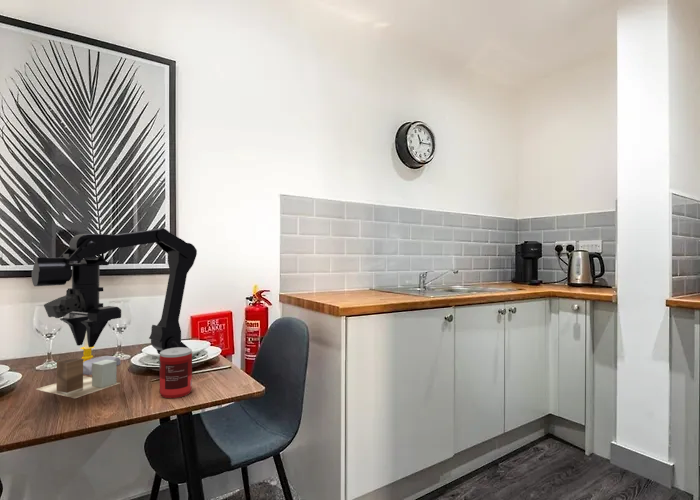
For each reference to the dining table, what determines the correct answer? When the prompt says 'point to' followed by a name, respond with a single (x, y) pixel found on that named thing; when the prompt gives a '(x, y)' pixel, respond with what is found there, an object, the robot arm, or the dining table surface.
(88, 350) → the candle
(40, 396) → the dining table surface
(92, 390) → the serving board
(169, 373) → the canned food
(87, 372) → the stone block
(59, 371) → the walnut block
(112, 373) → the pale grey block
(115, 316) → the robot arm
